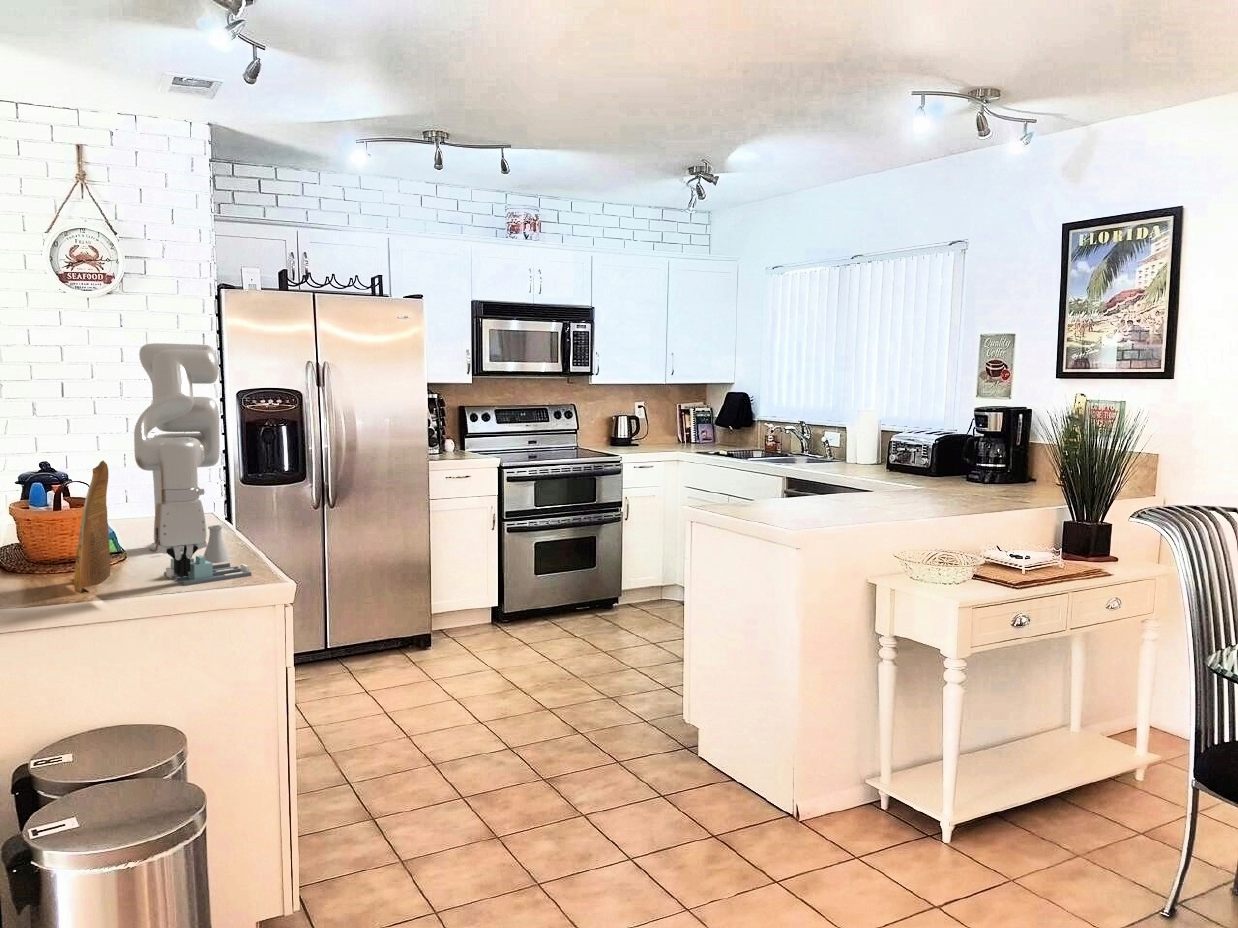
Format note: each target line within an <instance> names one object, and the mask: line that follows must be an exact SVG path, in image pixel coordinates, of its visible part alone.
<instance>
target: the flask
mask: <svg viewBox="0 0 1238 928" xmlns="http://www.w3.org/2000/svg"><path fill="white" fill-rule="evenodd" d="M222 528H224V526H223V525H221V524H213V525H209V526H208V527H207V529H208V530H209V536H208V542H207V546H206V547H205V551H204V554H203V556H204V557H205V561H209V562H211V563H213V564H214V563H215V564H218V563H219V564H221V563H226V562H229V561H230V560H231V559H232V558H231V555H230V553H229V551H228V549H227V546H226V544H225V541H224V537H223V535H222V530H223V529H222Z"/></svg>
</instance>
